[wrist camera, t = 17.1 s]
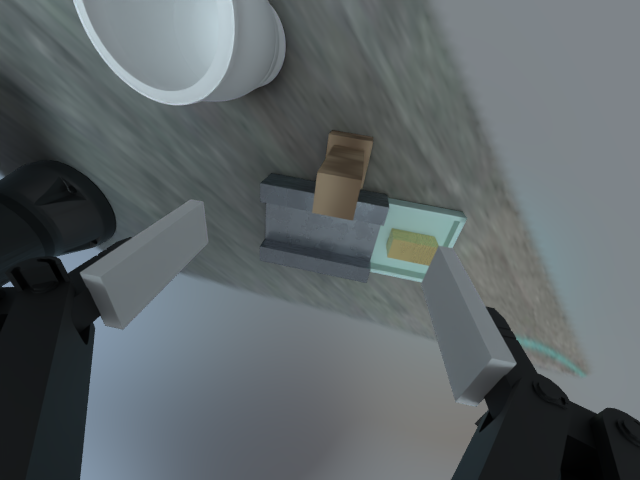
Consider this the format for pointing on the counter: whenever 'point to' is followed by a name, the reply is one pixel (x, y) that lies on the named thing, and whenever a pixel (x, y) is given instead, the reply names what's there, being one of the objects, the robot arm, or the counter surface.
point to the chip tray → (416, 220)
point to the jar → (187, 46)
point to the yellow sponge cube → (424, 249)
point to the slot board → (319, 230)
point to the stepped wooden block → (342, 174)
